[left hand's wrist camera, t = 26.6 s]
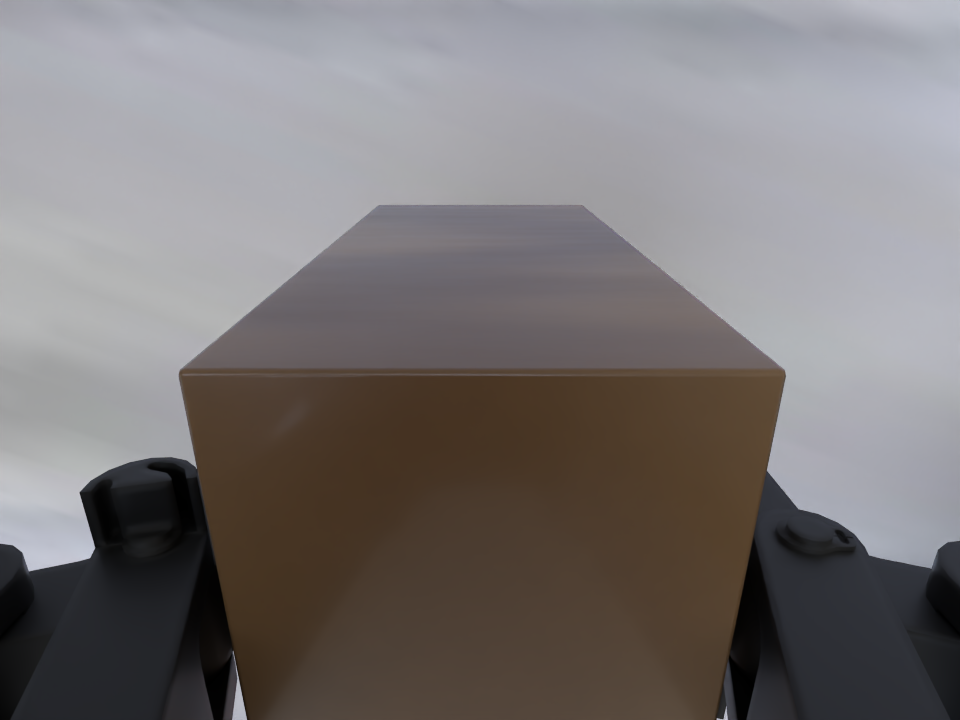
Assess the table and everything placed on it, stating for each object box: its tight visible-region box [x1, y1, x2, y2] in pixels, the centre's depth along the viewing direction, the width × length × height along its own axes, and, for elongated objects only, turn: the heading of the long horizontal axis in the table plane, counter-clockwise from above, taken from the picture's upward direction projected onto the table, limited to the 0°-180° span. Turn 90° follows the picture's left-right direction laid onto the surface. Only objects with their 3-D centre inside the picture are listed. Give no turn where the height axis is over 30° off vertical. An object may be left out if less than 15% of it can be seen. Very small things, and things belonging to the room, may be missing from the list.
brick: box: [179, 205, 786, 720], centre depth 11 cm, size 5×8×11 cm, turn 0°
